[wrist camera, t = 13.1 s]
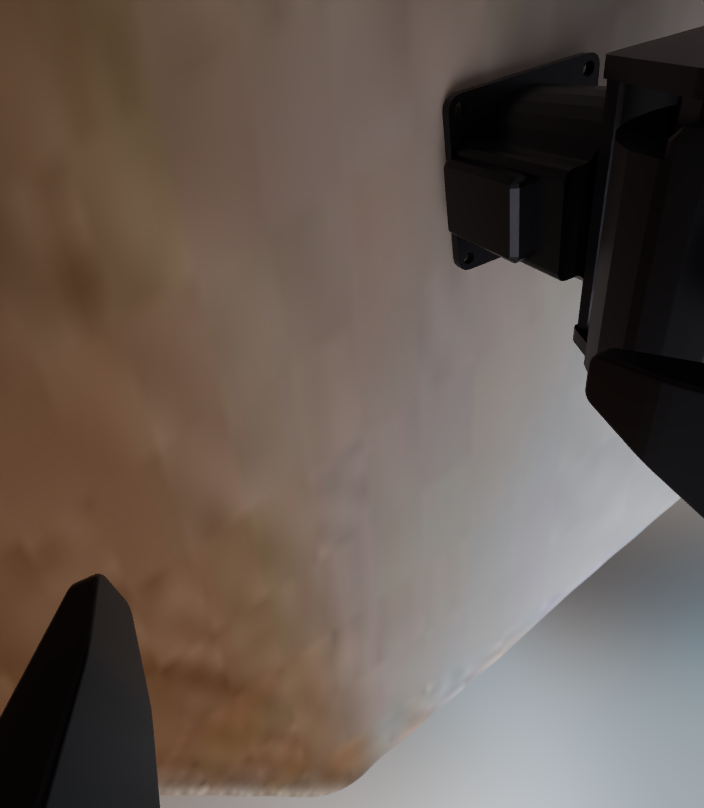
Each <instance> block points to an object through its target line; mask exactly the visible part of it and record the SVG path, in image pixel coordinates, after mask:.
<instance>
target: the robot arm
mask: <svg viewBox="0 0 704 808" xmlns="http://www.w3.org/2000/svg"><path fill="white" fill-rule="evenodd" d="M585 64H586V70H585V72H584V74H583V69H584V66H585ZM599 66H600V63H599V57H598V55H597V54H595V53H580V54H577V55H573V56H570V57H567V58H564V59H561V60H557V61H554V62H551V63H548V64H545V65H541V66H538V67H535V68H532V69H529V70H525V71H522V72H519V73H516V74H513V75H509V76H506V77H503V78H500V79H497V80H493V81H490V82H487V83H484V84H481V85H477V86H474V87H471V88H468V89H465V90H461V91H458V92H455V93H453V94H451V95H449V96H448V98H447V99H446V100H445V103H444V105H443V126H444V139H445V152H446V163H445V166H444V178H445V191H446V203H447V216H448V228H449V231H450V232H452V246H453V259H454V263H455V264H456V265H457V266H458V267H460V268H461V269H464V270H469V269H472V268H474V267H477V266H479V265H482V264H485V263H487V262H490V261H492V260H495V259H497V258H500V257H502V258H504V259H506V260H508V261H510V262H512V263H517V262H522V263H524V264H526V265H529V266H531V267H533V268H535V269H537V270H539V271H541V272H543V273H546V274H548V275H550V276H552V277H554V278H556V279H558V280H560V281H566V280H568V279H571V278H573V277H575V278H578V279H580V280H582V281H583V286H582V294H581V302H580V311H579V319H578V324H577V325H575V327H574V335H573V341H574V342H575V344H576V345H577V346H578V348H579V349H580V350H581V351H582V353H583V354H584V355H585V360H584V365H585V368H586V370H587V372H588V374H587V381H586V388H585V392H586V396H587V399H588V401H589V402H590V403H591V405H592V406H593V407H594V408H595V409H596V410H597V411H598V413H599V414H600V415H601V416H602V417H603V418H604V419H605V420H606V422H607V423H608V424H609V425H610V426H611V427H612V428H613V429H614V431H615V432H616V433H617V434H618V435H619V436H620V437H621V438H622V440H623V441H624V442H625V443H626V444H627V445H628V446H629V447H630V449H631V450H632V451H633V452H634V453H635V454H636V455H637V456H638V457H639V458H640V459H641V460H642V461H643V462H644V463H645V464H646V465H647V466H648V467H649V468H650V469H651V470H652V471H653V472H654V473H655V474H656V475H657V476H658V477H659V478H660V479H662V480H663V481H664V482H665V483H666V484H667V485H668V486H669V487H670V488H671V489H672V490H673V491H674V492H676V493H677V494H678V495H679V496H680V497H681V498H682V499H683V500H684V501H685V502H687V504H689V505H690V506H691V507H692V508H693V509H694V510H695V511H696V512H697V513H698V514H699V515H700V516H702V517H703V518H704V26H702V27H698V28H695V29H691V30H688V31H684V32H680V33H677V34H673V35H670V36H666V37H663V38H659V39H655V40H652V41H648V42H645V43H641V44H638V45H634V46H630V47H627V48H623V49H620V50H616V51H613V52H609V53H607V54H606V60H605V68H604V77H603V78H605V79H607V86H598V77H599ZM457 103H460V105H461V111H460V113H459V115H458V116H456V115H455V107H456V105H457ZM468 252H469V256H468V258H467V259H466V260H465V261H464V257H465V255H466V254H467V253H468ZM159 802H160V801H159V790H158V778H157V766H156V754H155V742H154V730H153V720H152V711H151V705H150V699H149V694H148V689H147V684H146V679H145V674H144V670H143V665H142V660H141V655H140V650H139V646H138V641H137V636H136V631H135V626H134V621H133V617H132V613H131V610H130V607H129V605H128V603H127V601H126V600H125V599H124V598H123V596H122V595H121V594H120V593H119V592H118V591H117V590H116V588H115V587H114V586H113V585H112V584H111V583H110V582H109V580H108V579H107V578H106V577H105V576H104V575H102V574H95V575H92V576H90V577H88V578H85V579H83V580H81V581H79V582H76V583H74V584H73V585H72V586H71V587H70V588H69V589H68V591H67V593H66V595H65V596H64V598H63V600H62V602H61V604H60V606H59V608H58V610H57V611H56V613H55V615H54V617H53V619H52V621H51V623H50V625H49V626H48V628H47V630H46V632H45V634H44V636H43V638H42V640H41V641H40V643H39V645H38V647H37V649H36V651H35V653H34V655H33V656H32V658H31V660H30V662H29V664H28V666H27V668H26V669H25V671H24V673H23V675H22V677H21V679H20V681H19V683H18V684H17V686H16V688H15V690H14V692H13V694H12V696H11V698H10V699H9V701H8V703H7V705H6V707H5V709H4V711H3V713H2V714H1V716H0V808H160V803H159Z"/></svg>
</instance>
